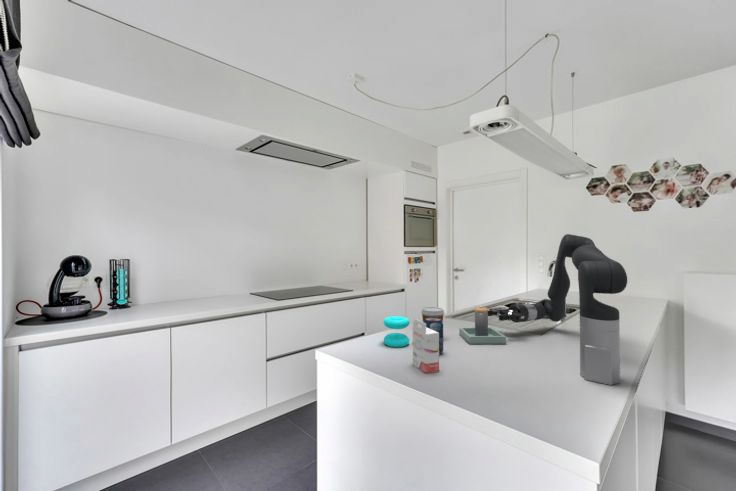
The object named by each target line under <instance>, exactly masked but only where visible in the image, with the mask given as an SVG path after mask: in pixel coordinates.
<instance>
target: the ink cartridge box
mask: <svg viewBox="0 0 736 491" xmlns="http://www.w3.org/2000/svg"><path fill="white" fill-rule="evenodd" d="M419 325H420V326H419ZM412 364H413V365H414V366H415V367H416V368H418V369H419V370H420V371H422V372H424V373H425V374H431V373H436V372H439V371H440V355H439V332H436V331H434V330H431V329H429V328H427V327H426V323H423V321H421V320H419V319H416V318H413V321H412Z"/></svg>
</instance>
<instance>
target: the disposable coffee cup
mask: <svg viewBox="0 0 736 491" xmlns="http://www.w3.org/2000/svg"><path fill="white" fill-rule="evenodd" d="M420 313H421V316H422V322H423V323H424V321H425V318H428V317H436V318H440V319H441V321H442V323H443V324H444V315H445V313H446V312H445V311H444V309H443V308H442V307H437V306H435V307H434V306H430V307H429V306H427V307H422V309H421V311H420Z"/></svg>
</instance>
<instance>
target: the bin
mask: <svg viewBox="0 0 736 491" xmlns="http://www.w3.org/2000/svg"><path fill="white" fill-rule="evenodd" d="M458 329H459V332H458V334H459V336H460V337H461V338H462V339H463V340H464V341H465V342H466V343H467V344H468V345H470V346H473V345H474V346H475V345H476V346H480V345H481V346H482V345H483V346H484V345H486V346H487V345H488V346H489V345H490V346H493V345H495V346H496V345H497V346H498V345H499V346H500V345H503V346H504V345H507V336H506V335H504V334H503V333H501V332H499V331H498V330H496V329H495V328H493V327H488V336H475V327H459V328H458Z"/></svg>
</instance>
